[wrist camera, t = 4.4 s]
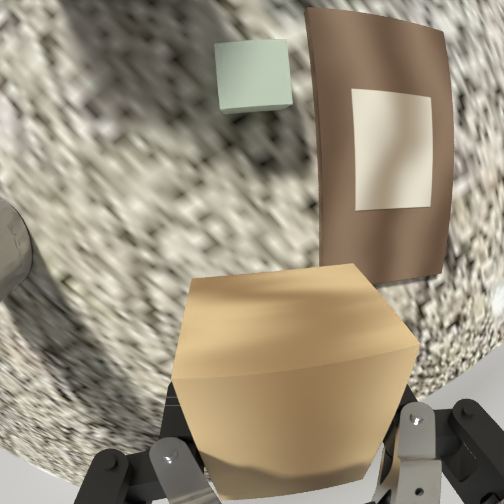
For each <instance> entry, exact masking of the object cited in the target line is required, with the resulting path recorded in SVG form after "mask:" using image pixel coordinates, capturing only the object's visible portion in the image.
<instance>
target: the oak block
mask: <svg viewBox="0 0 504 504" xmlns="http://www.w3.org/2000/svg"><path fill="white" fill-rule="evenodd" d="M419 347H420V343H419V342H418V340H417V339H416V338H415V337H414V335H413V334H412V333H411V331H410V330H409V329H408V328H407V326H406V325H405V324H404V323H403V321H402V320H401V319H400V318H399V317H398V315H397V314H396V313H395V312H394V310H393V309H392V308H391V307H390V306H389V304H388V303H387V302H386V301H385V300H384V298H383V297H382V296H381V295H380V294H379V292H378V291H377V290H376V289H375V288H374V287H373V285H372V284H371V283H370V282H369V281H368V280H367V278H366V277H365V276H364V275H363V274H362V273H361V272H360V270H359V269H358V268H357V267H356V266H355V265H354V264H353V263H351V264H342V265H333V266H323V267H313V268H304V269H294V270H283V271H273V272H262V273H252V274H241V275H229V276H218V277H206V278H194V279H192V281H191V285H190V289H189V294H188V298H187V303H186V307H185V312H184V317H183V321H182V326H181V331H180V336H179V341H178V346H177V351H176V356H175V361H174V366H173V372H172V377H171V380H172V383H173V386H174V389H175V391H176V394H177V397H178V400H179V403H180V405H181V408H182V411H183V413H184V416H185V419H186V421H187V424H188V426H189V429H190V431H191V434H192V436H193V439H194V441H195V444H196V446H197V448H198V451H199V453H200V455H201V458H202V460H203V462H204V465H205V467H206V469H207V471H208V473H209V476H210V478H211V480H212V482H213V484H214V486H215V488H216V490H217V492H218V495H219V497H220V499H221V500H239V499H253V498H265V497H274V496H283V495H290V494H296V493H303V492H308V491H314V490H319V489H323V488H329V487H333V486H338V485H342V484H346V483H349V482H354V481H357V480H361V479H363V477H364V475H365V474H366V472H367V470H368V468H369V466H370V465H371V463H372V461H373V459H374V457H375V455H376V453H377V451H378V449H379V447H380V445H381V443H382V441H383V439H384V437H385V435H386V433H387V431H388V428H389V426H390V424H391V422H392V419H393V417H394V415H395V413H396V410H397V408H398V405H399V403H400V400H401V398H402V395H403V393H404V390H405V388H406V385H407V382H408V380H409V377H410V374H411V371H412V368H413V366H414V363H415V360H416V357H417V354H418V350H419Z"/></svg>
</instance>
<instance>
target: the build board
mask: <svg viewBox="0 0 504 504" xmlns="http://www.w3.org/2000/svg"><path fill="white" fill-rule="evenodd" d="M304 15H305V23H306V30H307V38H308V46H309V55H310V64H311V74H312V85H313V96H314V108H315V122H316V138H317V157H318V182H319V239H320V247H319V267H323V266H333V265H342V264H351V263H353V264H354V265H355V266H356V267H357V268H358V269H359V270H360V272H361V273H362V274H363V275H364V276H365V277H366V278H367V280H368V281H369V282H370V283H371V284H377V283H384V282H391V281H398V280H404V279H411V278H417V277H423V276H429V275H435V274H441V273H442V268H443V262H444V256H445V250H446V243H447V237H448V229H449V221H450V211H451V201H452V187H453V167H454V123H453V103H452V90H451V80H450V71H449V64H448V57H447V50H446V44H445V39H444V33H443V31H439V30H436V29H433V28H429V27H426V26H422V25H419V24H415V23H411V22H407V21H403V20H398V19H394V18H389V17H384V16H379V15H373V14H367V13H361V12H354V11H346V10H337V9H327V8H313V7H307V9H306V11H305V12H304Z"/></svg>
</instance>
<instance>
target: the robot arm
mask: <svg viewBox="0 0 504 504" xmlns="http://www.w3.org/2000/svg"><path fill="white" fill-rule="evenodd" d="M31 264H32V248H31V243H30V238H29V235H28V232H27V229H26V227H25V225H24V223H23V221H22V219H21V217H20V216H19V214H18V213H17V211H16V210H15V209H14V208H13V207H12V206H11V205H10V204H9V203H7V202H6V201H4V200H2V199H0V302H1V301H2V300H3V299H4V298H5V297H6V296H8V295H9V294H10V293H11V292H12V291H13V290H14V289H15V288H16V287H17V286H18V285H19V284H20V283H21V282H22V281H24V280H25V279H26V277H27V276H28V274H29V272H30V268H31ZM383 443H384V448H383V451H382V458H381V464H380V471H379V477H378V482H377V487H376V490H375V493H374V495H373V498H372V501H371V502H369V503H366V504H440V492H441V473H442V472H443V474H444V475H445V477H446V478H447V479H448V481H449V482H450V484H451V485H452V487H453V488H454V489H455V490H456V492H457V494H458V495H459V496H460V498H461V499H462V501H463V502H464V504H504V431H503V430H502V429H501V428H500V427H499V425H498V424H497V423H496V422H495V421H494V420H493V419H492V418H491V417H490V416H489V415H488V413H486V411H485V410H484V409H483V408H482V407H481V406H480V405H479V404H478V403H477V402H476V401H474V400H471V399H462V400H459V401H458V402H457V403H456V404H455V405H454V407H453V409H442V410H433V409H432V408H431V407H430V406H429V405H427V404H425V403H422V402H418V401H417V399H416V398H415V396H414V394H413V393H412V391H411V389H410V388H409V386H408V384H407V385H406V388H405V390H404V393H403V395H402V398H401V400H400V403H399V405H398V408H397V410H396V413H395V415H394V417H393V419H392V422H391V424H390V426H389V428H388V431H387V433H386V435H385V437H384V439H383ZM465 445H466V446H465ZM469 450H470V451H469ZM473 455H474V456H473ZM476 459H477V460H476ZM204 467H205V465H204V462H203V460H202V458H201V455H200V453H199V451H198V448H197V446H196V444H195V441H194V439H193V436H192V434H191V431H190V429H189V426H188V424H187V421H186V419H185V416H184V413H183V411H182V408H181V405H180V403H179V400H178V397H177V394H176V391H175V389H174V386H173V383H172V382H171V383H170V385H169V386H168V391H167V398H166V402H165V408H164V413H163V419H162V425H161V431H160V437H159V439H158V441H156V442H155V443H154V444H153V445H152V447H151V448H150V449H149V450H146V451H144V452H140V453H135V454H130V455H125V454H124V453H122V452H121V451H119V450H117V449H105V450H102V451H100V452H99V453H97V454H96V455H95V457H94V458H93V461H92V463H91V465H90V467H89V469H88V472H87V474H86V476H85V478H84V481H83V483H82V485H81V488H80V490H79V492H78V495H77V497H76V499H75V502H74V504H151V503H152V501H153V500H158V499H163V498H167V499H168V501H169V503H170V504H222V503H221V502H220V500H219V499H218V497H217V496H216V494H215V493H214V491H213V490H212V488H211V487H210V485H209V483H208V482H207V480H206V478H205V477H204Z"/></svg>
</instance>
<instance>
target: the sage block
mask: <svg viewBox="0 0 504 504" xmlns="http://www.w3.org/2000/svg"><path fill="white" fill-rule="evenodd" d="M214 50H215V62H216V73H217V84H218V95H219V106H220V110H221V112H222V113H223V114H224V115H225V114H235V113H246V112H259V111H275V110H282V109H284V108H286V107H288V106H290V105H292V104H293V101H292V90H291V79H290V69H289V59H288V50H287V41H286V39H274V40H250V41H236V42H225V43H216V44H214Z"/></svg>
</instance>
